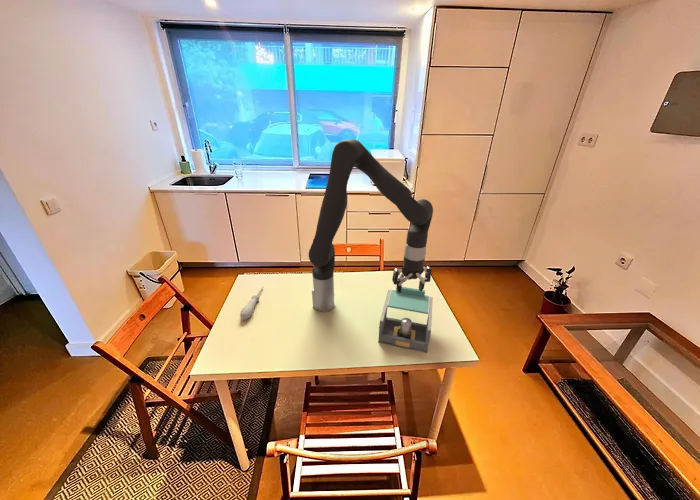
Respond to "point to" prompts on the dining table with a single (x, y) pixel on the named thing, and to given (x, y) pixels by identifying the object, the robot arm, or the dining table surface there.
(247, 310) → the screwdriver
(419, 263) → the robot arm
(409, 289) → the lid
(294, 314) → the dining table surface
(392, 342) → the housing
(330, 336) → the dining table surface
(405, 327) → the pin
